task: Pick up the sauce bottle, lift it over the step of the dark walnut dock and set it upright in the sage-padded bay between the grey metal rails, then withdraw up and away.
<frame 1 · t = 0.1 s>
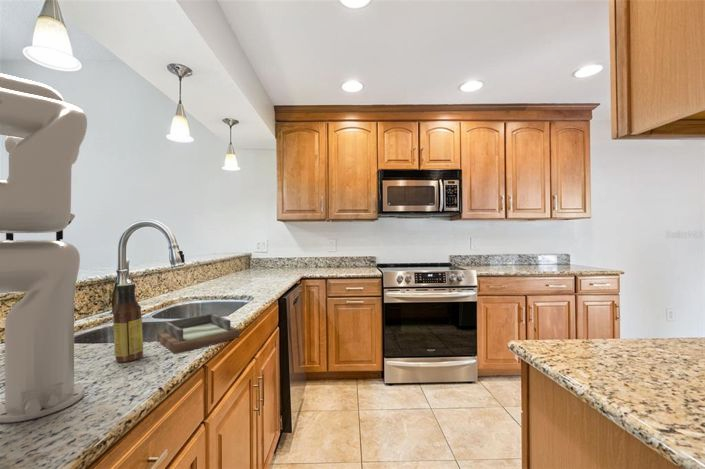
hand: (35, 242, 93), 31 cm above the worktop, fingers open, 9 cm apart
sauce bottle: (128, 359, 84), on the worktop
dock: (198, 339, 100), on the worktop
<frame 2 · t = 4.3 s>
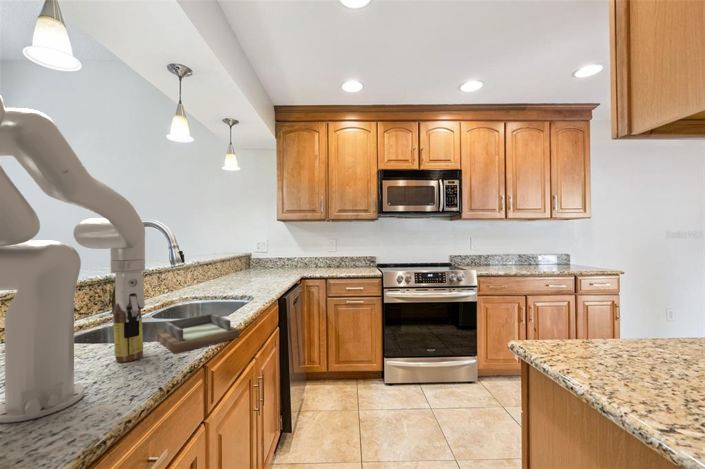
hand: (128, 333, 85), 7 cm above the worktop, fingers closed on sauce bottle, 6 cm apart
sauce bottle: (128, 359, 84), on the worktop, touching gripper
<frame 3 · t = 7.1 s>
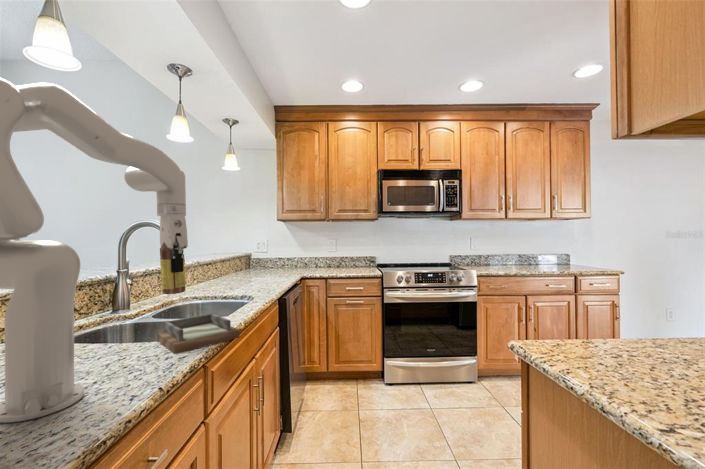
hand: (173, 270, 95), 22 cm above the worktop, fingers closed on sauce bottle, 6 cm apart
sauce bottle: (173, 293, 95), point 15 cm above the worktop, touching gripper
when the fingers open (11 cm above the worktop, at t = 10.1 s): sauce bottle drops 1 cm, resting on dock.
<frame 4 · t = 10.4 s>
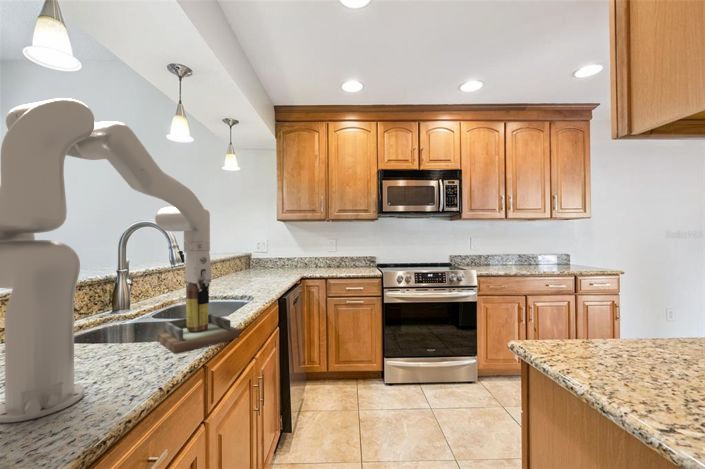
hand: (197, 301, 101), 12 cm above the worktop, fingers open, 9 cm apart
sauce bottle: (196, 330, 101), point 3 cm above the worktop, touching dock
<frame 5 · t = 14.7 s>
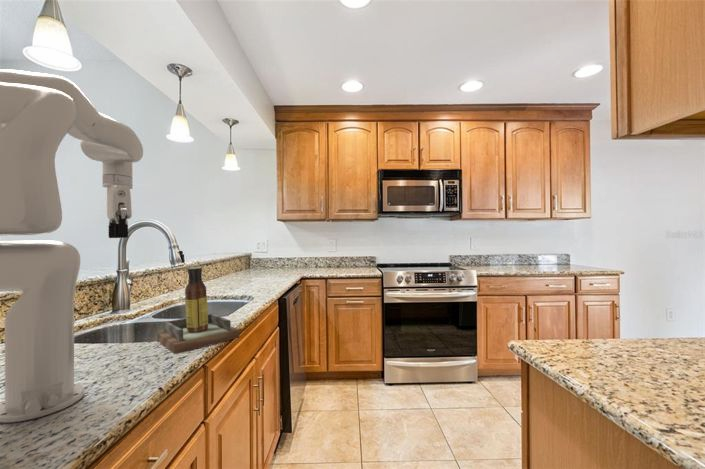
hand: (118, 237, 99), 32 cm above the worktop, fingers open, 9 cm apart
nothing on the worktop moved.
at the end: sauce bottle inside the target area on the dock (0.9 cm from its centre), point 2.5 cm above the dock's base; sauce bottle tilted 0°; the gripper is holding nothing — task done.
